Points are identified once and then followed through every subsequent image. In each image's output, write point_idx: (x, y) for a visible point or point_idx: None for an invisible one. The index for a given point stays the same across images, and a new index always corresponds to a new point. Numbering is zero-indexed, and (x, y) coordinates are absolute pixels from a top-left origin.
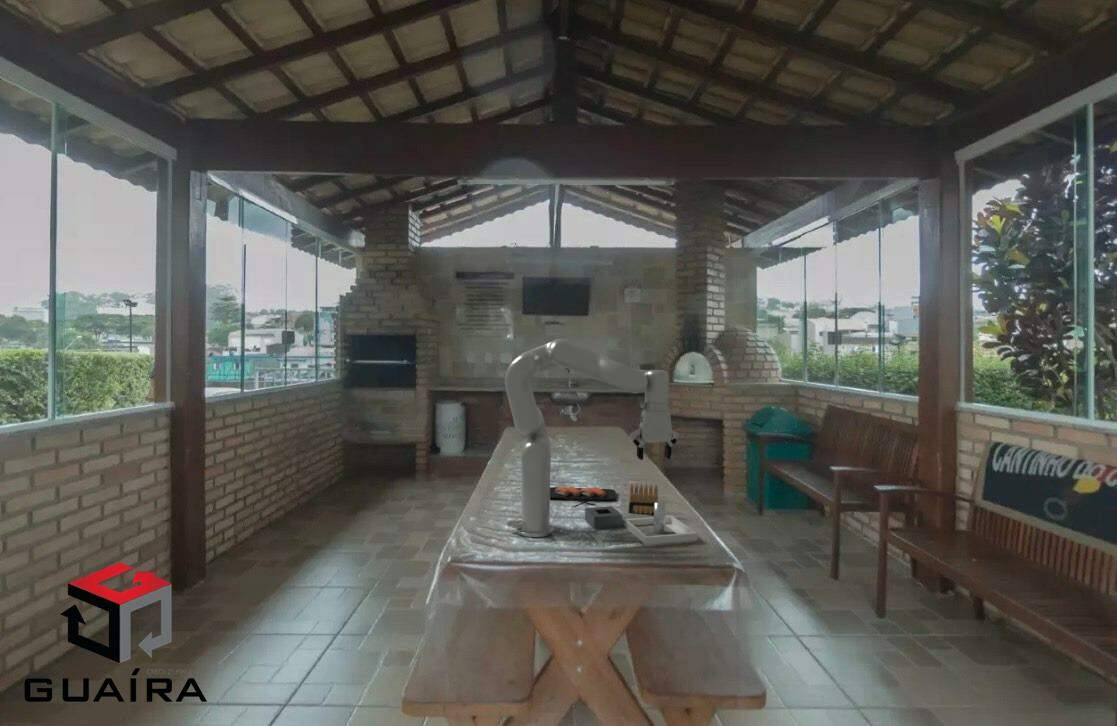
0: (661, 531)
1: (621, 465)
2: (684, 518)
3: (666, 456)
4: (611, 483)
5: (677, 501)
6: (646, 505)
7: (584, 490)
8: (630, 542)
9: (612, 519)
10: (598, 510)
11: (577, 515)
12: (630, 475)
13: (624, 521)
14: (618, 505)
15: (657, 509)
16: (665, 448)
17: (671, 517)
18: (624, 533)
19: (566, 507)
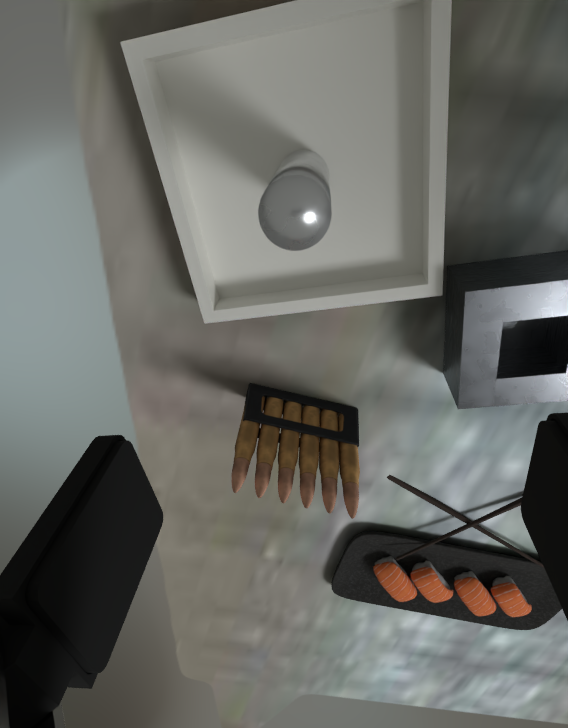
0: (298, 152)
1: (249, 714)
2: (150, 362)
3: (138, 490)
4: (314, 636)
5: None
6: (289, 421)
7: (445, 589)
8: (485, 73)
9: (514, 278)
10: (542, 372)
11: None
12: (243, 668)
13: (441, 284)
14: None
15: (318, 177)
16: (107, 621)
17: (211, 302)
18: (458, 213)
19: None
